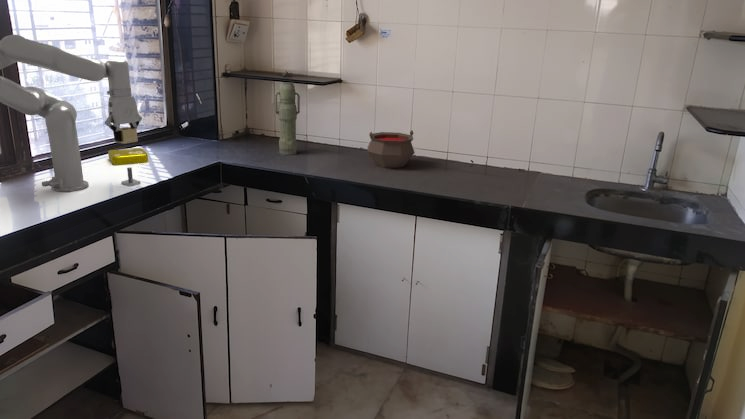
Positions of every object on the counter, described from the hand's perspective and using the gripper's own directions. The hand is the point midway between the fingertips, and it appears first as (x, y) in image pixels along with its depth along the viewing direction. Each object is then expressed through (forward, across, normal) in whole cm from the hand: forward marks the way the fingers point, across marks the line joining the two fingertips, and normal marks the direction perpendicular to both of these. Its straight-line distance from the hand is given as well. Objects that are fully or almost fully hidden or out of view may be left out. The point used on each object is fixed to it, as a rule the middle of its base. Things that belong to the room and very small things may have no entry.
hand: (126, 139), depth 218 cm
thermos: (+19, +82, -12) cm, 85 cm away
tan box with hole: (+1, 0, 0) cm, 1 cm away
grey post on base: (+18, -1, -1) cm, 18 cm away
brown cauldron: (+19, +96, -63) cm, 117 cm away
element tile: (+18, +22, +33) cm, 44 cm away
